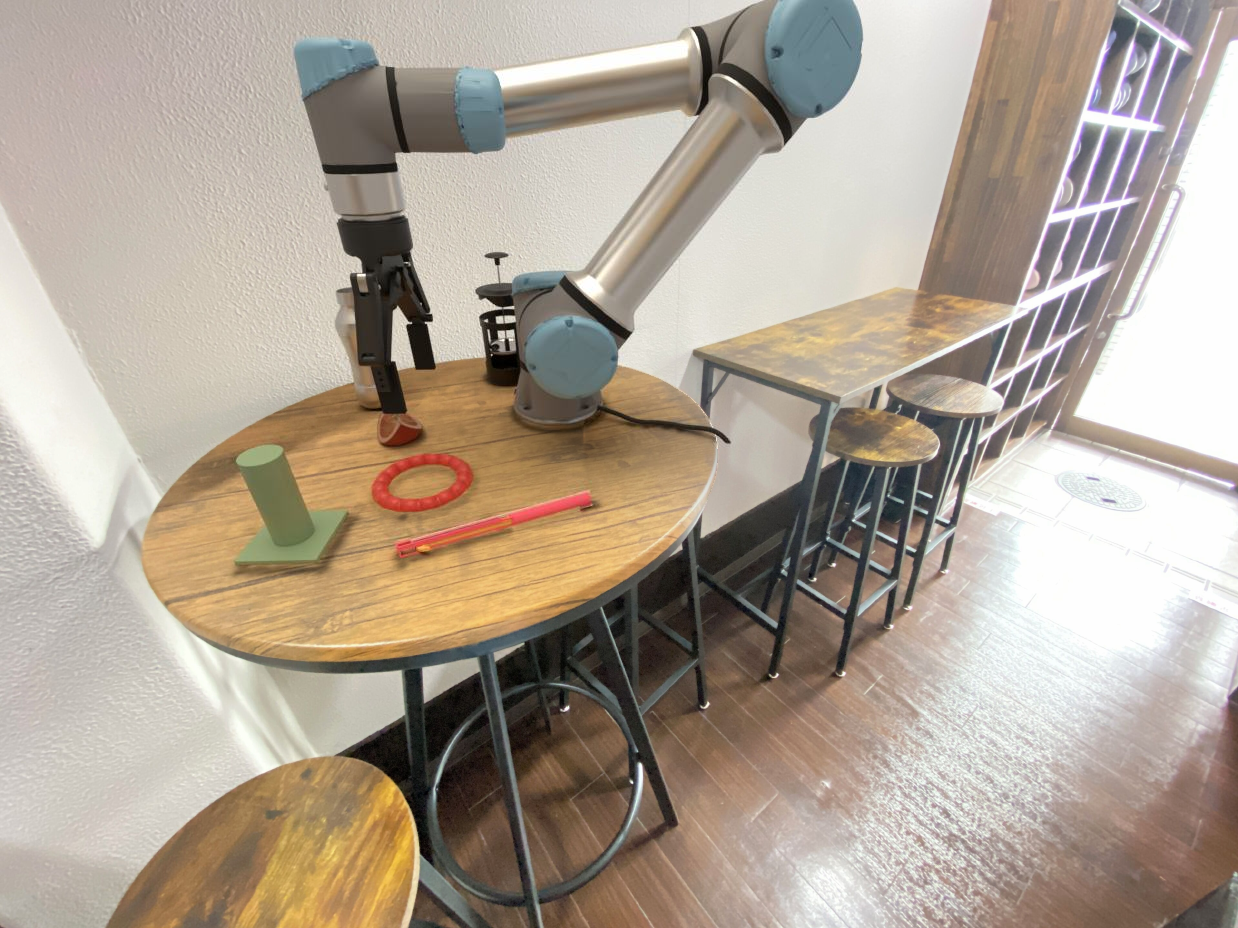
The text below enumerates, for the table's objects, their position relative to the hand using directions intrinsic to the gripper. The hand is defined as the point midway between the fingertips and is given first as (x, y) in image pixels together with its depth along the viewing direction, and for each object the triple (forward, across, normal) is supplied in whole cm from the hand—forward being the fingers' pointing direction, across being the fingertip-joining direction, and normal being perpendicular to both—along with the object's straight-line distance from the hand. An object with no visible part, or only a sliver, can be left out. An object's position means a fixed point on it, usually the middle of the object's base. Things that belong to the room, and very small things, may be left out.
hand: (411, 389), depth 71 cm
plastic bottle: (+12, -20, -14) cm, 28 cm away
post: (+12, +17, -11) cm, 24 cm away
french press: (+12, -32, +8) cm, 36 cm away
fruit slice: (+12, -7, -6) cm, 16 cm away
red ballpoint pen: (+12, +14, +13) cm, 23 cm away
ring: (+11, +6, +1) cm, 13 cm away
